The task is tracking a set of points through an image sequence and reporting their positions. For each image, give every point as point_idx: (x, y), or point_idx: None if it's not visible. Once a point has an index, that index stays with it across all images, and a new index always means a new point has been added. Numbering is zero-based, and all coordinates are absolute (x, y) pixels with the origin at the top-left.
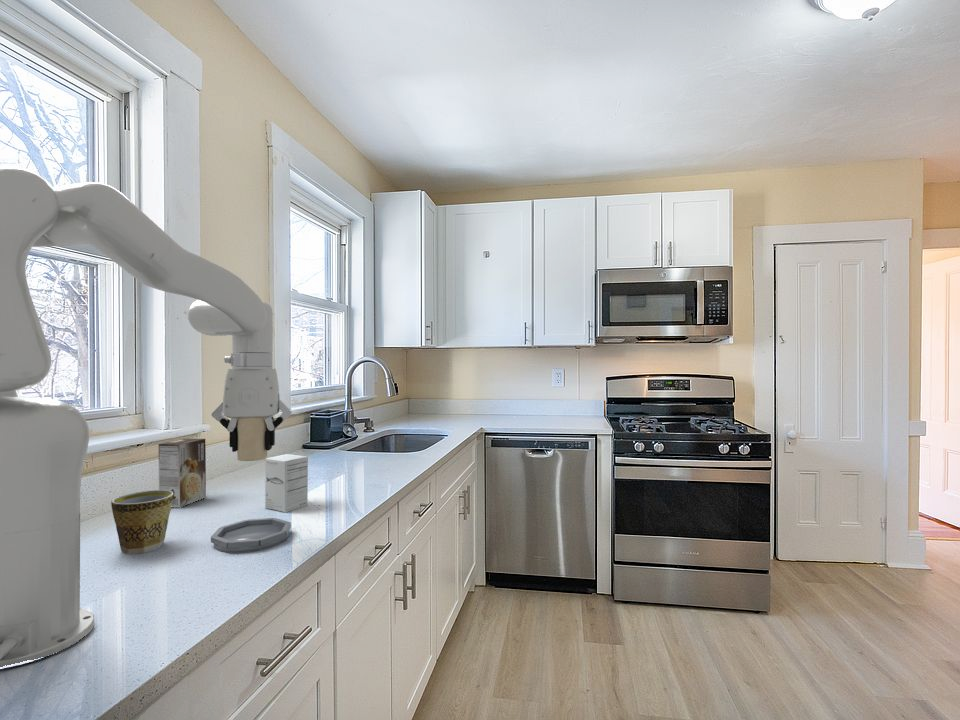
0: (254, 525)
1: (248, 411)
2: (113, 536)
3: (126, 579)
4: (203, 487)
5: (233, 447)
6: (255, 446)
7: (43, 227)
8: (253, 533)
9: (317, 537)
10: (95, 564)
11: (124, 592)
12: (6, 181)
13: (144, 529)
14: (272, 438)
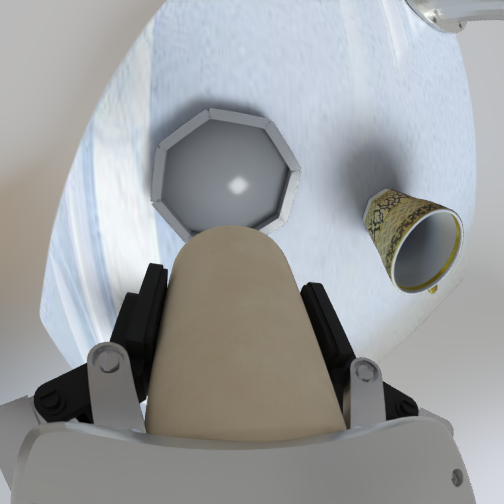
0: None
1: (296, 494)
2: None
3: (396, 89)
4: None
5: (321, 292)
6: (213, 263)
7: None
8: (223, 186)
9: (106, 148)
10: (427, 173)
11: (391, 45)
12: None
13: (406, 196)
14: (122, 315)
